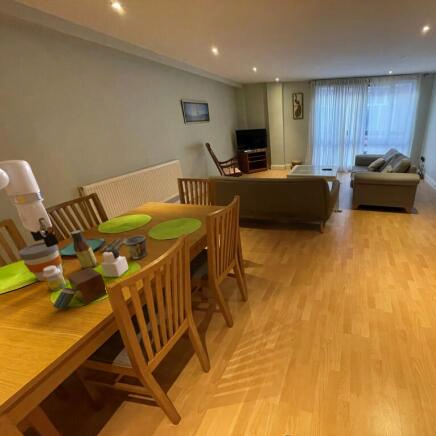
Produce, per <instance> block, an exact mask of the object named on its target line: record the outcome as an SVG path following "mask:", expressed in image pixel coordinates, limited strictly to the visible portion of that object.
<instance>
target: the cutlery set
mask: <svg viewBox="0 0 436 436" xmlns="http://www.w3.org/2000/svg"><path fill="white" fill-rule="evenodd" d="M126 239H127V237H124V238H123V239H122V240H121V238H120V237H118V238H117V240H115V238H113V239H112V240H111V241H110V242H107V244H106V245H105V246H104V247H103V248H102V249H101V252H104V251H105V249H106V251H107V250H111V249H117V250H118V249H119V248H120V247H121V245H122V244H124V241H125V240H126ZM85 240H87V241H88V242H89V245H90V246H91V248H92V251H93V252H94V251H95V250H97V249H99V248H100V247H102V246H103V245H104V243H105V242H106V240H105V239H103V238H85ZM120 240H121V241H120ZM114 241H115V242H114ZM119 241H120V242H119ZM113 242H114V243H113ZM118 242H119V243H118ZM112 243H113V244H112ZM117 243H118V244H117ZM111 244H112V245H111ZM58 252H59V253H60V256H61V258H62V257H63V256H66V257H72V256H77V255H76V253H75V250H74V242H71V243H69V244H67V245H66V246H63V247H62V248H61V249H60V250H58Z"/></svg>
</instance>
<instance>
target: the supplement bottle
mask: <svg viewBox="0 0 436 436" xmlns="http://www.w3.org/2000/svg"><path fill="white" fill-rule="evenodd" d="M43 271H44V274H43V277H44V279H45V283H46V285H47V287H48V289H49V290H50V291H58V290H62V289H63V288H65V287H66V285H67V282H66V280H65V278H64V275H63V272H62V273H61V271H60V269H57V268H56V266H48V267H46V268H44V269H43Z"/></svg>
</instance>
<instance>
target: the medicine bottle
mask: <svg viewBox="0 0 436 436" xmlns="http://www.w3.org/2000/svg"><path fill="white" fill-rule="evenodd" d="M102 257H103V260H104V261H103V262H101V263H100V267H101V269H102V273H103V275H104V277H111V278H112V277H113V278H120V277H121V276H122V275H123V274H124V273H125V272H127V270H129V269H130V268H129V265H128V261H127V258H126V256H121V254H120V252H119V250H118V249H114V248H113V249H111V250H106V251H105V250H104V251H103V253H102Z"/></svg>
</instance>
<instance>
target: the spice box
mask: <svg viewBox="0 0 436 436" xmlns="http://www.w3.org/2000/svg"><path fill="white" fill-rule="evenodd" d="M66 279H67V280H68V283H69V285H70V288H71V289H75V290H77V291H76V293H75V295H74V297H76V298H77V299H78V300H79V301H81V302H82V303H84V304H85V305H88V304H90V303H93V302H94V301H96V300H98V299H100V298H102V297H103V296H105V295H108V293H106V290H105V286H106V283H105V281H104V278H103V275H102V273H100V272H99V271H97V270H96V269H93V267H92V268H90V267H89V268H87V269H84V268H83V269H81V270H79V271H77V272H74V273H72V274H70V275H68V276H66Z"/></svg>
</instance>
